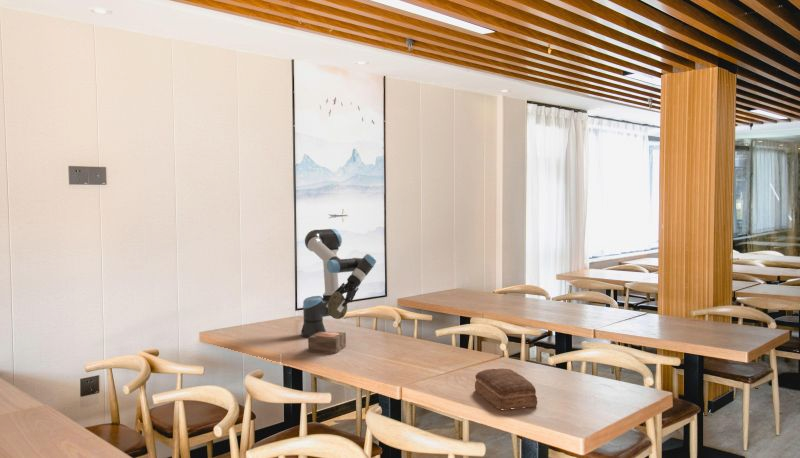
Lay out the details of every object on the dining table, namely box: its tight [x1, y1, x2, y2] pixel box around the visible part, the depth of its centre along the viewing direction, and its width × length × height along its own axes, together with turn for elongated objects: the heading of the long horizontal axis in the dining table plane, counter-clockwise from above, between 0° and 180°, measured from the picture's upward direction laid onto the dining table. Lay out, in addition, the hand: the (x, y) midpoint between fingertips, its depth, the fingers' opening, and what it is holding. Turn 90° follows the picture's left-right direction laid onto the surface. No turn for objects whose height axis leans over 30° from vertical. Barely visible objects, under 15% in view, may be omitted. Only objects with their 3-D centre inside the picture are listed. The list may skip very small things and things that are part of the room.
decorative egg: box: [328, 292, 348, 320], centre depth 352 cm, size 11×11×15 cm
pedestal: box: [307, 331, 347, 354], centre depth 354 cm, size 16×16×8 cm
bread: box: [474, 368, 538, 410], centre depth 263 cm, size 17×29×11 cm, turn 14°
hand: (333, 309), depth 350 cm, fingers closed on decorative egg, 11 cm apart
